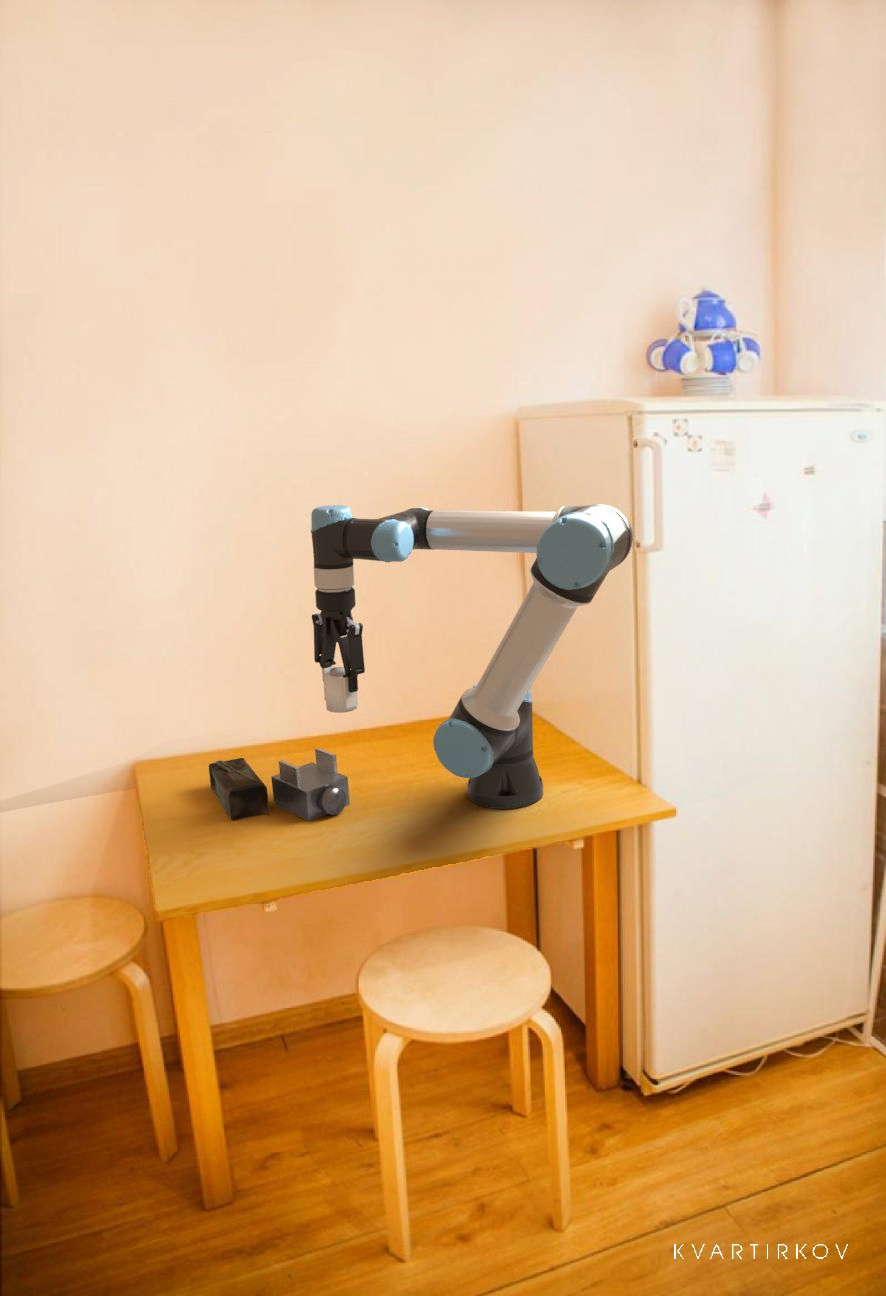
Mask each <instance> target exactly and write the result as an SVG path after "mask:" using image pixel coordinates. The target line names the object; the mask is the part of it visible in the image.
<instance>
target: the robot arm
mask: <svg viewBox="0 0 886 1296" xmlns="http://www.w3.org/2000/svg"><path fill="white" fill-rule="evenodd" d="M310 516H311V527H310V529H311V530H310V534H311V541H312V553H313V555H312V556H313V578H314V580H313V581H314V587H315V588H316V590H315V592H314V595H315V606H316V609H317V610H319V611H320V612H319V613H318V612H317V613H313V614H312V615H311V620H312V626H313V650H314V651H313V652H314V653H313V654H314V662H315V663H316V664H318V663H319V666H320V668H321V671H322V681H323V693H324V701H326V690H325V673H326V672H328V671H330V669H332V668H335V667H337V666H335V665H336V664H337V662H336V661H335V657H336V656H335V654H336V649H337V648H336V647H337V643H338V648H339V652H340V656H341V660H342V664H343V666H342V667H344V670H345V674H344V675H342V676H343V691H344V708H346V709H348V708H352V707H355V706H357V707H358V705H359V702H358V700H359V699H358V698H359V697H358V690H359V685H358V683H359V681H358V676H359V675H362V674H365V672H366V671H365V670H366V668H365V658H364V647H363V645H364V644H363V636H362V635H363V631H364V625H363V623H362V622H359V623H356V622H355V621H354V618H353V615H352V610H353V608H355V607H356V589H355V588H354V587H353V586H354V585H355V573H354V560H365V561H377V562H384V563H393V562H395V563H396V562H397V563H398V562H405V560H407V559H408V558H409V556H410V555H411V553H412V552H413V550H431V551H432V550H442V551H464V552H465V551H467V552H469V551H471V552H472V551H473V552H500V553H523V554H524V553H525V554H528V553H529V554H536V557H535V560H534V562H533V564H532V565H531V568H530V569H529V571H530V575H531V578H532V580H533V583H532V585H531V586H530V588H529V589H528V592H527V593H526V594H525V597H524V599H523V600H522V602H521V604H520V607H518V610H517V612H516V614H515V615H514V617H513V618H512V621H511V622H510V624H509V626H508V629H507V630H506V631H505V634H504V635H503V638H502V639H501V641H500V642H499V644H498V645H497V646H498V647H497V648H496V650H495V652H494V653H493V655H492V657H491V659H490V661H489V663H488V665H487V666H486V668H485V670H484V672H483V673H482V675H481V677H480V679H479V681H478V683H476V684H473V686H472V687H471V688H468V689H466V690H465V691H463V693H462V695H461V696H460V699H459V700H458V702H457V703H456V706H455V707H454V709H453V711H452V712H451V714H450V716H449V717H448V718H447V719H446V720H443V722H441V723H440V724H439V726H438V727H437V728H436V730H435V733H434V735H433V743H432V744H433V749H434V752H435V754H436V758H437V760H438V762H439V763H440V764H441V765H442V767H444V768H445V770H447V771H448V772H449V773H450V774H453V775H454V776H456V777H459V778H463V779H468V782H467V797H468V798H469V800H470V801H472V803H475V804H476V805H479V806H482V807H486V808H491V809H501V810H503V809H516V808H517V809H518V808H521V807H526V806H529V805H532V804H534V803H536V802H538V801H539V800H540V799H542V797H543V796H544V782H543V779H542V777H541V776H540V772H539V769H538V766H537V763H536V760H535V758H534V733H533V732H534V731H533V730H534V729H533V723H534V722H533V721H534V719H533V704H534V702H533V697H532V691H531V688H532V687H533V684H534V682H535V681H536V679H537V677H538V676H539V674H540V672H541V670H542V669H543V668H544V666H545V664H546V662H547V660H548V659H549V657H550V655H551V653H552V652H553V650H554V648H555V646H556V644H557V643H558V641H560V637H561V636H562V634H563V633H564V631H565V629H566V628H567V626H568V624H569V622H570V621H571V619H572V617H573V616H574V613H575V612H576V610H577V609H578V607H581V606H585V605H589V604H591V603H592V601H593V599H594V597H595V596H596V594H597V592H598V591H599V589H600V588H601V585H602V584H603V582H604V581H605V579H606V577H607V575H608V574H609V572H610V571H612V570H614V569H615V568H616V567H618V566H619V565H621V564H622V563H623V562H624V561H625V560H626V558H627V557H628V555H629V554H630V551H631V548H632V546H633V540H634V537H633V536H634V535H633V529H632V526H631V524H630V521H629V520H628V518H627V516H626V515H625V514H623V512H622V511H620V510H619V509H617V508H616V507H614V506H611V505H608V504H602V503H599V504H598V503H597V504H595V503H594V504H589V505H574V506H573V505H572V506H569V505H568V506H567V505H565V506H561V508H559V510H558V511H526V510H525V511H522V510H521V511H518V510H517V511H514V510H513V511H510V510H509V511H508V510H507V511H506V510H503V511H502V510H501V511H500V510H436V509H435V510H431V509H429V508H426V507H411V508H408V509H406V510H404V511H400V512H398V513H394V514H391V515H387V516H384V517H380V518H375V519H374V518H356V517H353V514H352V510H351V508H350V507H349V506H348V505H340V504H334V505H333V504H331V505H322V506H317V507H315V508H314V509H313V510H312V511H311V514H310Z"/></svg>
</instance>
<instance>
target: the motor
mask: <svg viewBox="0 0 886 1296" xmlns="http://www.w3.org/2000/svg"><path fill="white" fill-rule="evenodd" d="M314 752H315V762H312V761H311V762H309V763H305V764H303V765H299V766H298V765H294V764H292V763H290V762H287V761H285V760H282V759H281V760H279V761H278V767H279V773H278V774H274V775H272V776H271V777H270V778H271V788H272V796H273V804H274V805H275V806H277V807H278V808H281V809H282V810H285V811H287V812H289V813H291V814H294V815H295V816H298V817H299V818H301V819H304V820H306V821H307V822H310V821H313V820H315V819H317V818H321V817H322V816H325V815H331V816H335V815H338V814H340V813H342V811H343V810H344V808H345V807H347V806H350V803H351V802H350V791H349V777H348V776H347V775H345V774H342V773H339V772H338V761H337V754H336V753H333V752H330V751H327V750H325V749H323V748H320V747H316V748H314Z"/></svg>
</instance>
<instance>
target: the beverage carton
mask: <svg viewBox="0 0 886 1296" xmlns="http://www.w3.org/2000/svg"><path fill="white" fill-rule="evenodd" d="M208 774H209V782H210V789H211V791H212V792H213V794H214V795H215V797H216V799H217V800H218V802H219V803H220V805H221V806H222V808H223V810H224V811H225V813H226V814H227V816H228V817H229V819H230V820H231V821H236V820H241V819H245V818H252V817H257V816H261V815H267V814H268V813H269V796H268V787H267V786H266V785H265V783H264V782H263V781H262V779H261V778H260V777H259V776H258V775H257V773H256V771H254V770H253V768H252V766H250V764H248V762H247V761H246V759H245V758H244V757H239V758H234V759H228V760H221V759H218V760H216V761H215V762H212V763H208Z"/></svg>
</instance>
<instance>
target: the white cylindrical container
mask: <svg viewBox="0 0 886 1296" xmlns="http://www.w3.org/2000/svg"><path fill="white" fill-rule="evenodd" d="M344 674H345V670H344V666H336V667H335V668H332V669H330V671H328V672H326V673H325V690H326V700H325V706H326V711H328V712H330V713H337V714H338V713H341V714H342V713H350V712H353V711H355V710H356V709H357V708H358V706H355V707H352V708H348V709H346V708H344V691H343V676H342V675H344Z"/></svg>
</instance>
